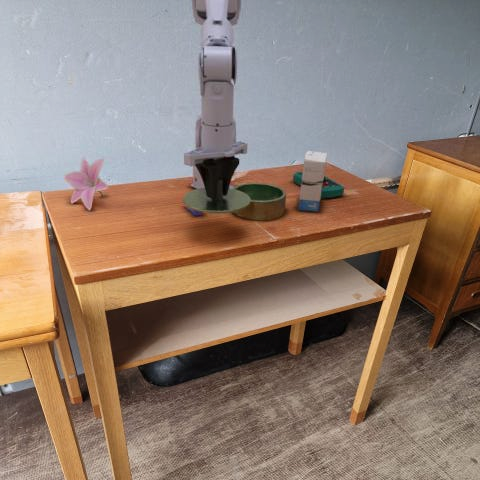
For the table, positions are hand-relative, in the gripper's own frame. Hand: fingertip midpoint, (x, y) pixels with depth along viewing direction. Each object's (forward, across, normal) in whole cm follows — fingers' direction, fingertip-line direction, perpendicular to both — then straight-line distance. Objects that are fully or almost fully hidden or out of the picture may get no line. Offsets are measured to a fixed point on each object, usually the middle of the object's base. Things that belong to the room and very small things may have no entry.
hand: (216, 195), depth 88 cm
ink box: (+8, +28, -3) cm, 29 cm away
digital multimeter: (+8, +39, +3) cm, 40 cm away
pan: (+8, +16, +3) cm, 18 cm away
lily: (+8, -11, +32) cm, 35 cm away
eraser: (+8, +4, +12) cm, 15 cm away
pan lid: (+1, 0, 0) cm, 1 cm away
